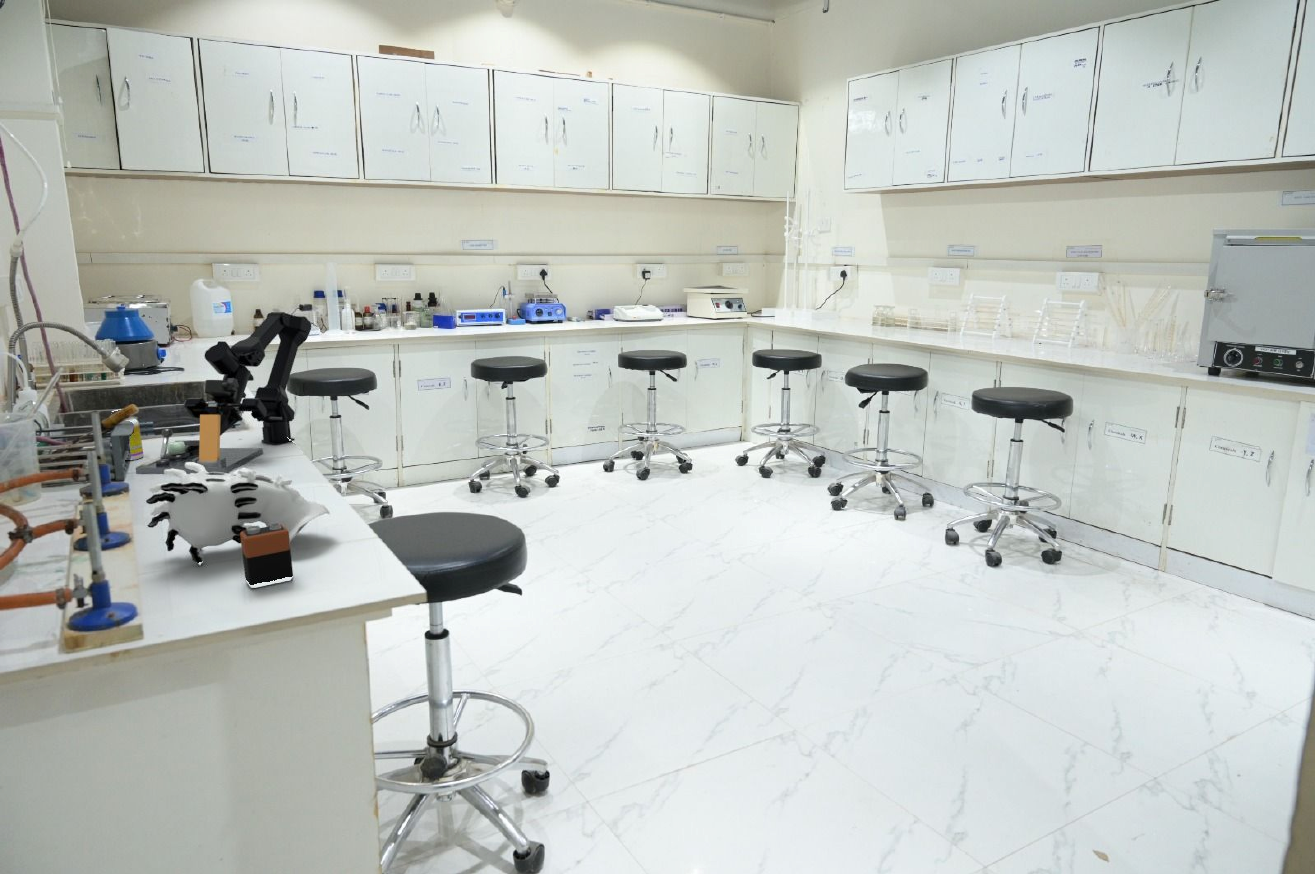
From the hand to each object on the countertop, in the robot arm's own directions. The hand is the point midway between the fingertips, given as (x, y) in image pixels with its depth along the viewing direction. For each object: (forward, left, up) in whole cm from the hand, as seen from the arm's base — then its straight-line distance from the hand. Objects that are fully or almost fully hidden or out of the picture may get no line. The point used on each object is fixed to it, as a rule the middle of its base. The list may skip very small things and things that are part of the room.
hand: (216, 436), depth 209 cm
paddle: (+4, +2, -6) cm, 7 cm away
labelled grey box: (-3, -17, -4) cm, 17 cm away
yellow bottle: (+6, -29, -8) cm, 31 cm away
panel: (-1, -8, -8) cm, 12 cm away
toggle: (+9, -10, -6) cm, 14 cm away
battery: (+39, +75, -8) cm, 85 cm away
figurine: (+32, +58, -8) cm, 67 cm away
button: (+3, -13, -5) cm, 15 cm away
